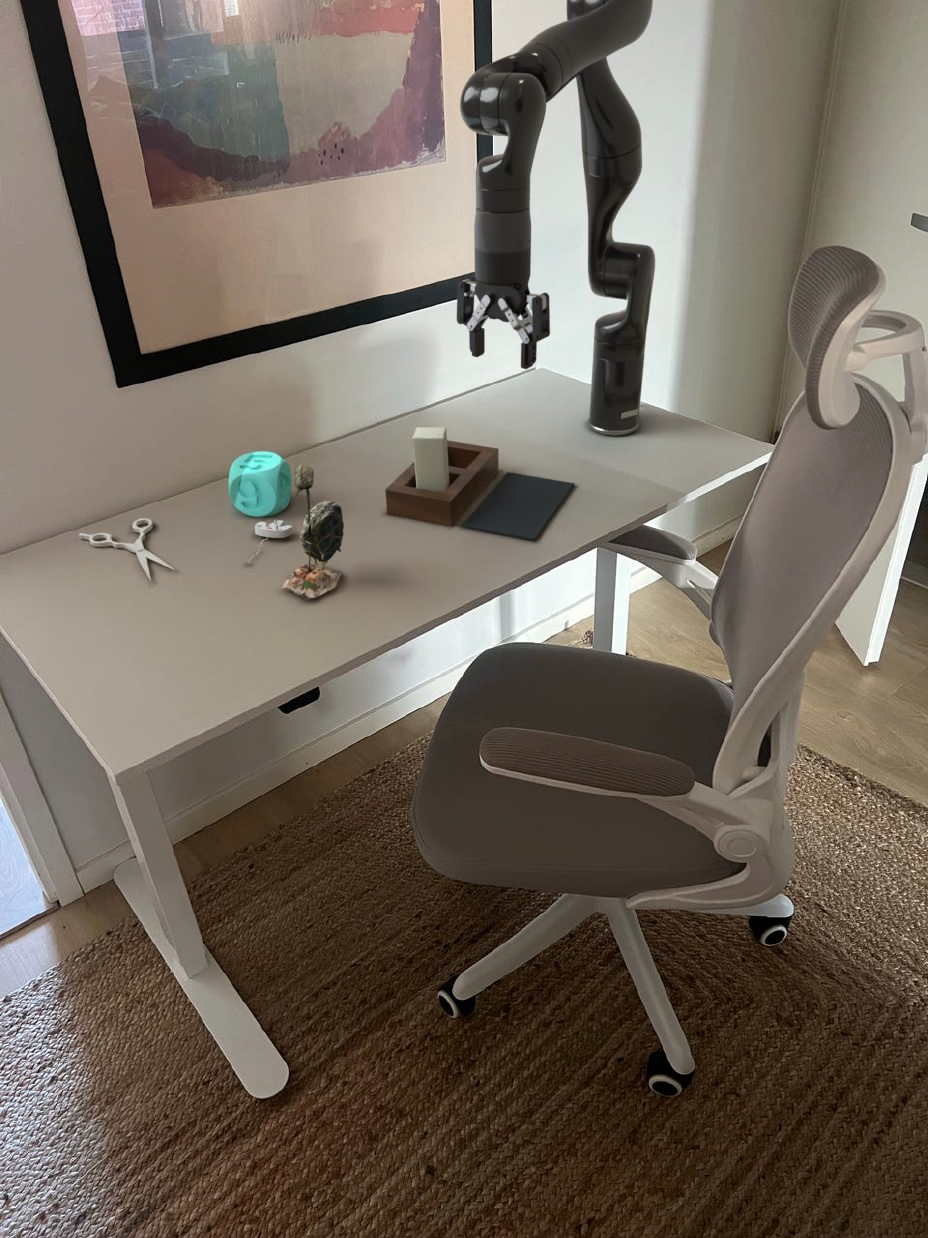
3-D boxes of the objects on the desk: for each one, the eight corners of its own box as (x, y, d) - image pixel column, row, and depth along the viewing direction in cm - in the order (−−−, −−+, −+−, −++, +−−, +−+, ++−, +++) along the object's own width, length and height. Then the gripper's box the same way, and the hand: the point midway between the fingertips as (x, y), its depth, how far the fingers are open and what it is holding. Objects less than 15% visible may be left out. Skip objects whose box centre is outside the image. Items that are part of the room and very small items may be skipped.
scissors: (143, 512, 160) (197, 561, 147) (144, 517, 160) (198, 566, 147) (78, 533, 154) (128, 586, 141) (79, 538, 155) (130, 591, 142)
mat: (507, 474, 171) (507, 471, 170) (574, 485, 167) (574, 483, 166) (462, 527, 156) (462, 525, 155) (534, 541, 152) (534, 538, 151)
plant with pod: (366, 576, 144) (355, 450, 133) (304, 607, 138) (287, 478, 126) (331, 556, 149) (317, 433, 138) (269, 586, 143) (250, 459, 131)
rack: (438, 461, 175) (437, 438, 173) (498, 472, 172) (498, 448, 169) (386, 514, 160) (385, 489, 157) (451, 526, 156) (450, 501, 153)
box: (450, 498, 164) (448, 426, 156) (447, 511, 160) (445, 437, 153) (419, 497, 164) (415, 425, 157) (415, 510, 161) (411, 437, 153)
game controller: (294, 526, 157) (292, 511, 155) (286, 564, 148) (284, 549, 146) (258, 527, 157) (256, 512, 155) (248, 565, 147) (246, 550, 146)
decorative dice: (294, 495, 166) (288, 452, 161) (280, 518, 159) (273, 473, 155) (248, 493, 167) (241, 449, 162) (232, 516, 160) (225, 471, 156)
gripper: (563, 244, 130) (558, 363, 139) (476, 229, 137) (477, 344, 146) (531, 257, 125) (528, 379, 134) (443, 241, 132) (446, 358, 141)
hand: (502, 361), depth 140 cm, fingers open, 8 cm apart
